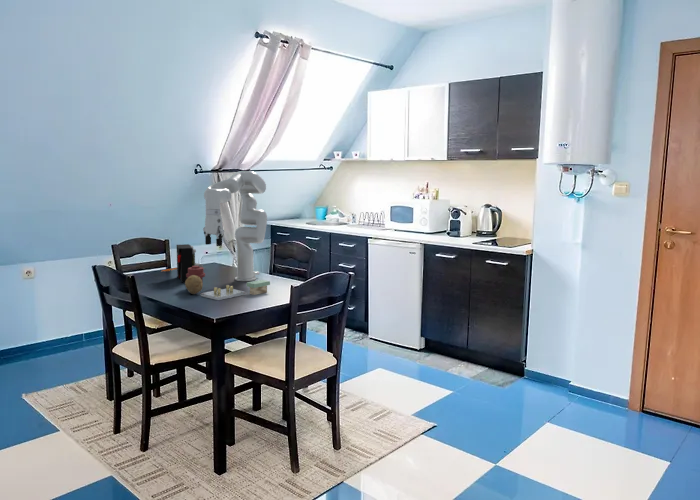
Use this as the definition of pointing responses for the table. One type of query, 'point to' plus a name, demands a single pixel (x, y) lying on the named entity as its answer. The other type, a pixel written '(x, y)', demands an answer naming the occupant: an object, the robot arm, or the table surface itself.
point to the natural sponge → (193, 284)
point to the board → (258, 283)
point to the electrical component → (184, 260)
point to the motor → (195, 265)
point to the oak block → (258, 290)
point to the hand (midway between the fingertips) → (213, 245)
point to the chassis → (223, 293)
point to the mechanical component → (196, 272)
